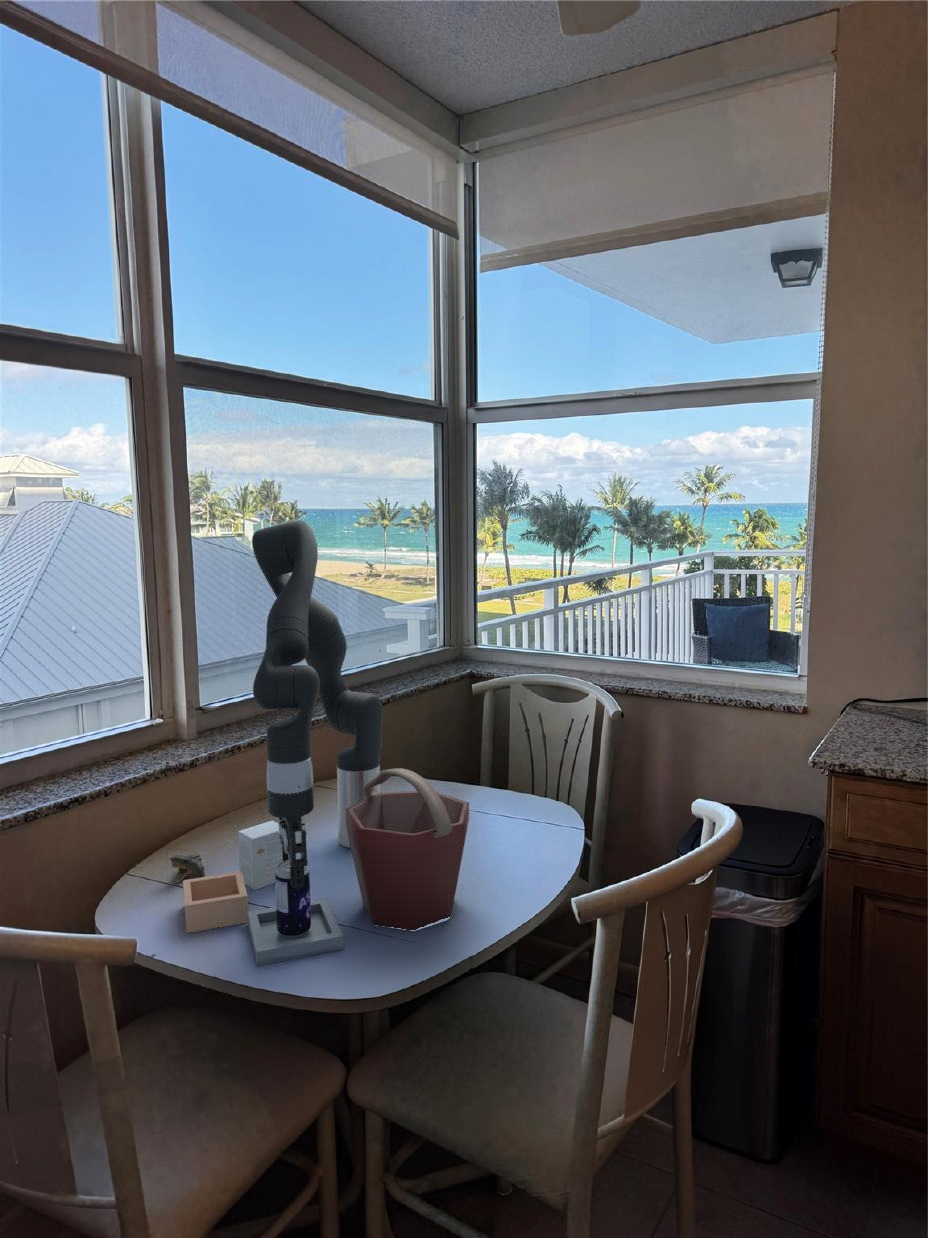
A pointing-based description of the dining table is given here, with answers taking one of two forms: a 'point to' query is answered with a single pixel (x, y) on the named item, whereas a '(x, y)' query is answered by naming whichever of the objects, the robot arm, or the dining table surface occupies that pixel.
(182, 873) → the dinosaur head
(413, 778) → the bucket
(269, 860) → the small box
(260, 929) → the slate tray
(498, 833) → the dining table surface
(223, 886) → the peach open bin
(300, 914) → the beverage can
